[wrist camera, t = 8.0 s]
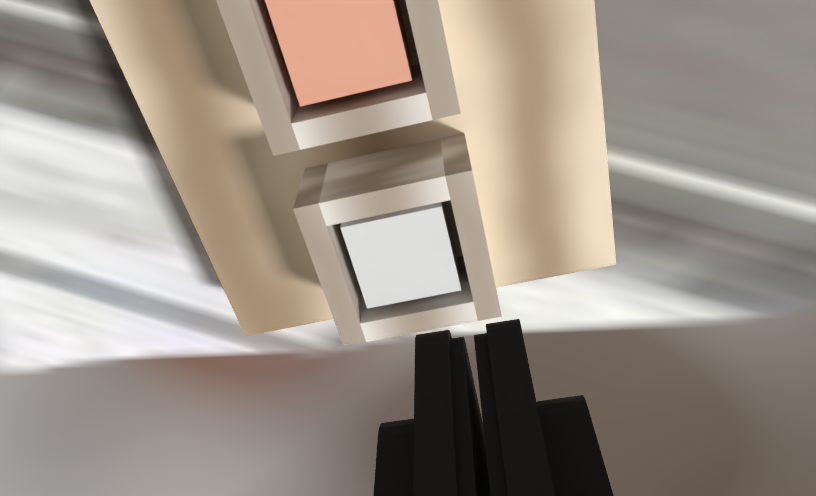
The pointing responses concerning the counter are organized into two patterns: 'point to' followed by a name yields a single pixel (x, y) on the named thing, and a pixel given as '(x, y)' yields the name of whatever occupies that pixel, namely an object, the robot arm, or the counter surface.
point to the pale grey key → (403, 254)
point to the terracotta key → (341, 46)
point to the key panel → (377, 152)
